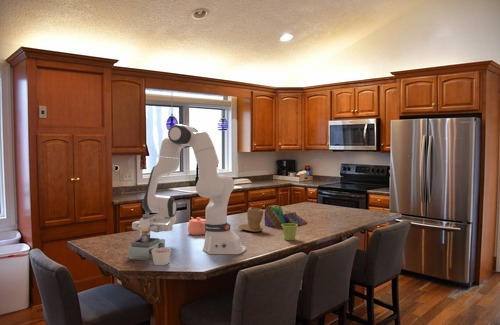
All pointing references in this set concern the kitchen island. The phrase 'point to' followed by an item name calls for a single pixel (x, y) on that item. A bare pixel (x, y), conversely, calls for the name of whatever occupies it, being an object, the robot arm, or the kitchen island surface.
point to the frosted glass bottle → (144, 228)
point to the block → (281, 217)
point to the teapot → (196, 226)
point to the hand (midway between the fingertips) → (144, 228)
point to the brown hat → (253, 220)
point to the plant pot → (289, 231)
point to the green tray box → (144, 248)
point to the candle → (161, 256)
